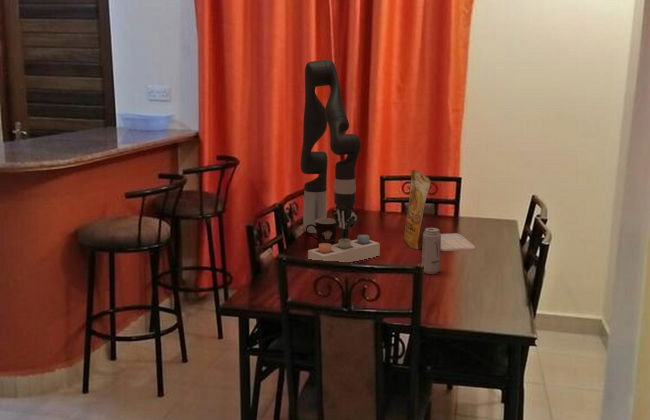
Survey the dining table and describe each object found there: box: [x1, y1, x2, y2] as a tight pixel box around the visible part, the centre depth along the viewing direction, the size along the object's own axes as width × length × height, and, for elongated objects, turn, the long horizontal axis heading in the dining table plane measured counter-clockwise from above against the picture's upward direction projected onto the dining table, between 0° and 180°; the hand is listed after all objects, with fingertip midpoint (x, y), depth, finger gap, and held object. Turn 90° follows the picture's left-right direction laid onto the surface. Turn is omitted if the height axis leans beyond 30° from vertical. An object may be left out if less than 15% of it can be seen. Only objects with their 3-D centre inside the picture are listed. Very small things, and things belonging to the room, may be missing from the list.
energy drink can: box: [421, 227, 442, 275], centre depth 231 cm, size 6×6×15 cm
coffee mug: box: [305, 217, 338, 246], centre depth 261 cm, size 12×9×10 cm
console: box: [307, 239, 381, 262], centre depth 244 cm, size 9×26×5 cm, turn 128°
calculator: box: [440, 232, 476, 252], centre depth 266 cm, size 13×20×2 cm, turn 8°
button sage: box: [337, 238, 352, 250], centre depth 243 cm, size 4×4×3 cm
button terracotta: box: [318, 243, 331, 254], centre depth 238 cm, size 4×4×3 cm
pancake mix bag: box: [403, 169, 432, 250], centre depth 262 cm, size 7×19×28 cm, turn 7°
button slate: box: [357, 234, 370, 245], centre depth 249 cm, size 4×4×3 cm
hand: (344, 238), depth 243 cm, fingers closed
